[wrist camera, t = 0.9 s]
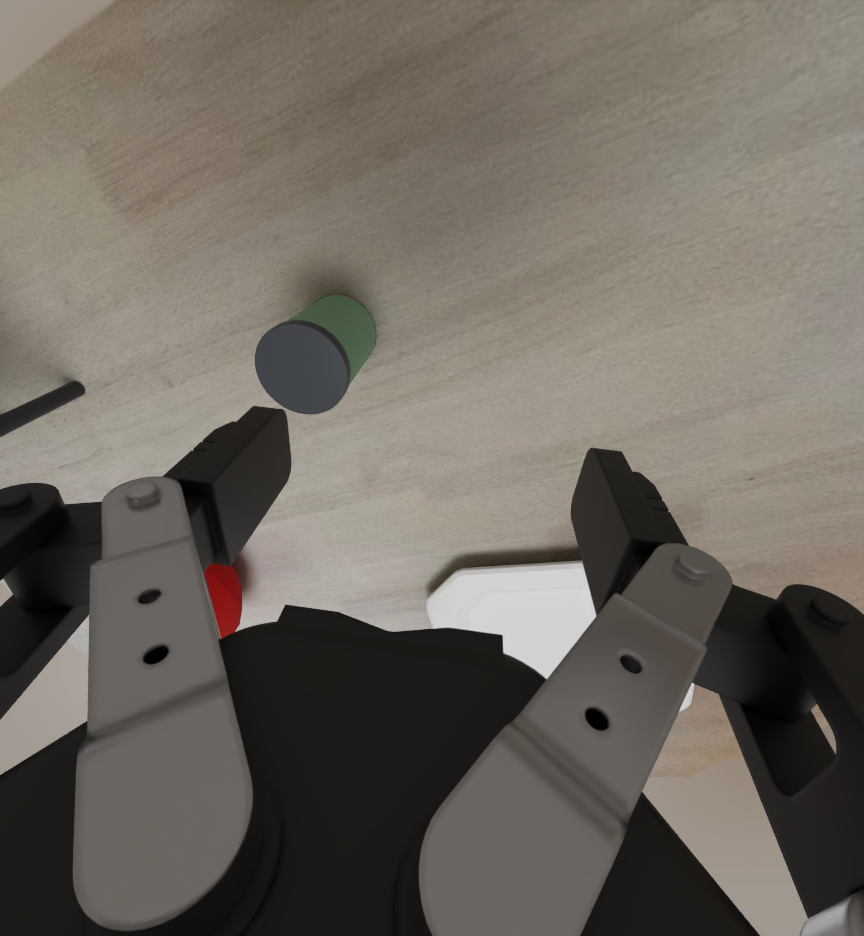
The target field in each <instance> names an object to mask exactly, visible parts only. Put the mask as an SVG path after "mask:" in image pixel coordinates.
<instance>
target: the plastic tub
mask: <svg viewBox="0 0 864 936" xmlns="http://www.w3.org/2000/svg"><path fill="white" fill-rule="evenodd" d="M375 343H376V329H375V325H374V322H373V320H372V318H371V316H370V314H369V313H368V311H367V310H366V309H365V308H364V307H363V306H362V305H361V304H360V303H359V302H357V301H356V300H354V299H352V298H350V297H347V296H343V295H330V296H326V297H323V298H321V299H320V300H318V301H317V302H315V303H313V304H312V305H310V306H309V307H307V308H306V309H304V310H303V311H301V312H300V313H298V314H297V315H295V316H294V317H292V318H291V319H289V320H288V321H285V322H283V323H280V324H278V325H277V326H275V327H273V328H272V329H270V330H269V331H268V332H267V333H265V335H264V336H263V337H262V338H261V340H260V341H259V344H258V346H257V349H256V354H255V366H256V371H257V375H258V378H259V380H260V382H261V384H262V386H263V387H264V389H265V390H266V392H267V393H268V394H269V395H270V396H271V397H272V398H273V399H274V400H275V401H276V402H277V403H279V404H280V405H282V406H283V407H285V408H287V409H289V410H291V411H294V412H297V413H302V414H318V413H322V412H325V411H328V410H330V409H331V408H333V407H334V406H335V405H336V404H338V402H339V401H340V400H341V399H342V397H343V396H344V394H345V393H346V391H347V389H348V387H349V384H350V383H351V381H352V380H353V379H354V377H355V376H356V374H357V373H358V372H359V370H360V369H361V367H362V366H363V365H364V363H365V362H366V360H367V359H368V357H369V356H370V355H371V353H372V351H373V349H374V347H375Z"/></svg>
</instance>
